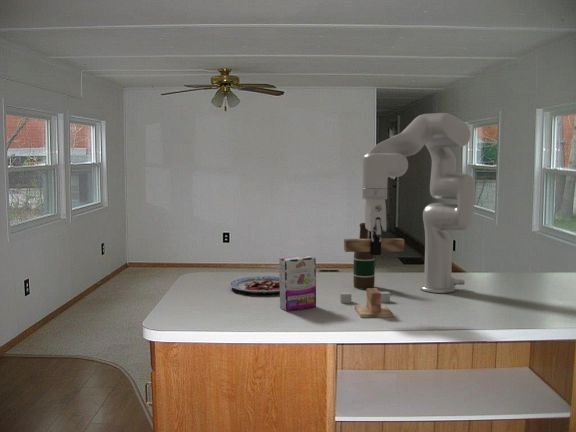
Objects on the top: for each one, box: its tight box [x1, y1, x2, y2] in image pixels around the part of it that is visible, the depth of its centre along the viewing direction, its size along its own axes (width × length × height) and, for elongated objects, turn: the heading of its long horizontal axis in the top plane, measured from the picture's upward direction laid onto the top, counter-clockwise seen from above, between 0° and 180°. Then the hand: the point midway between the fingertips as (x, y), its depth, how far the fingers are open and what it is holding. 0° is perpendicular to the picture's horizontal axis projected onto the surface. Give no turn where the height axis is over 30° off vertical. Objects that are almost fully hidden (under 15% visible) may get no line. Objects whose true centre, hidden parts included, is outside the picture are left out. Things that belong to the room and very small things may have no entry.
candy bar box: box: [278, 255, 317, 312], centre depth 186 cm, size 11×5×16 cm, turn 117°
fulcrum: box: [354, 287, 394, 318], centre depth 180 cm, size 10×10×7 cm
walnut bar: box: [343, 237, 405, 253], centre depth 178 cm, size 18×4×4 cm, turn 94°
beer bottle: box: [353, 222, 376, 290], centre depth 215 cm, size 8×8×24 cm
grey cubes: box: [339, 291, 391, 304], centre depth 194 cm, size 16×2×3 cm, turn 94°
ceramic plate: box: [229, 275, 280, 295], centre depth 215 cm, size 26×26×3 cm
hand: (374, 253), depth 178 cm, fingers closed on walnut bar, 3 cm apart
